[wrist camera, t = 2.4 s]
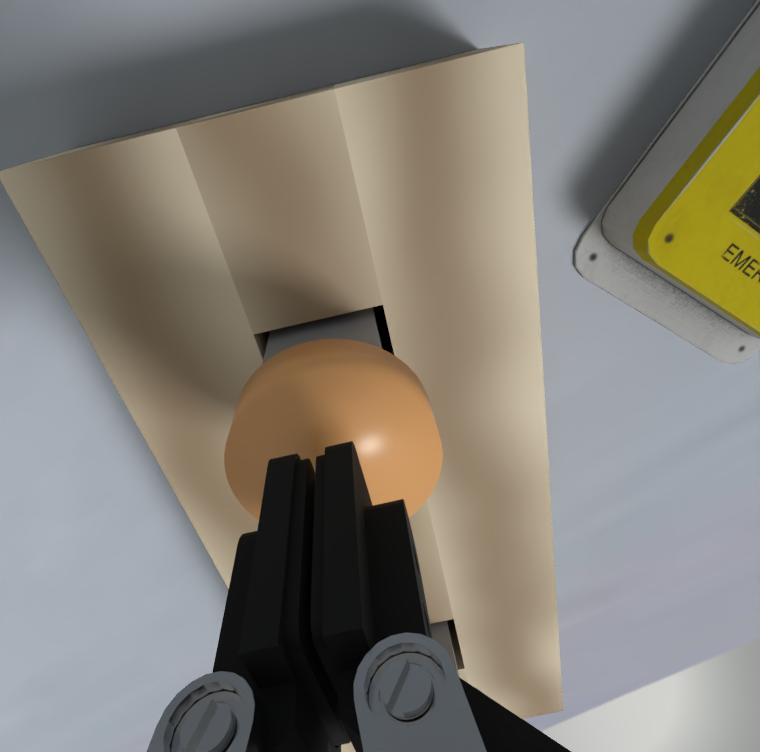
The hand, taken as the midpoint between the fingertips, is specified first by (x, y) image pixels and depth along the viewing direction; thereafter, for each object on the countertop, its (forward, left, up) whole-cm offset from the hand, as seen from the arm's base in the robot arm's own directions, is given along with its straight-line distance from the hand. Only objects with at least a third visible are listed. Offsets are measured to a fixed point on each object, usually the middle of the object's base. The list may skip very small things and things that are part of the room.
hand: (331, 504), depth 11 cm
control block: (0, +7, -9) cm, 12 cm away
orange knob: (0, 0, -7) cm, 7 cm away
